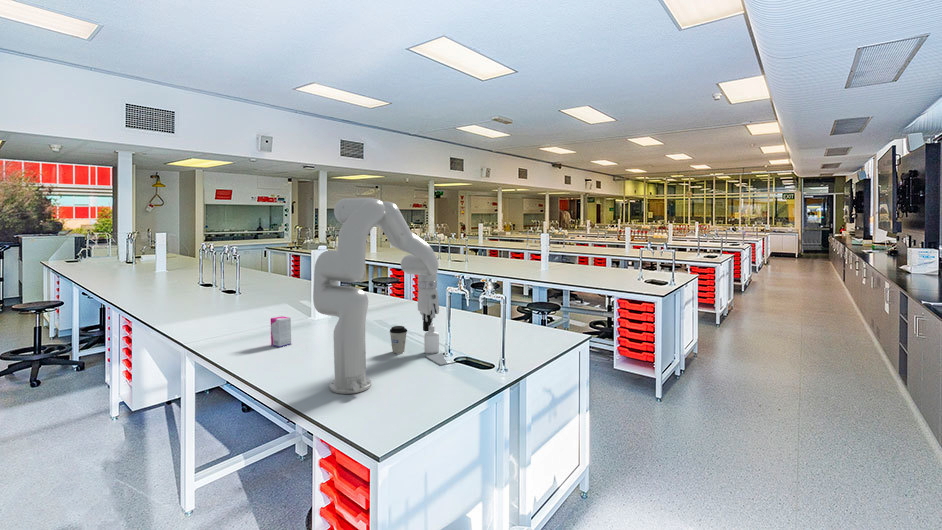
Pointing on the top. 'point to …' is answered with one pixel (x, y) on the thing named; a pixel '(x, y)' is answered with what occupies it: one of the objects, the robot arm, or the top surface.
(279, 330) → the supplement box
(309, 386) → the top surface
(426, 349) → the eye dropper bottle
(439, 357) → the mat
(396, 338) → the coffee cup
